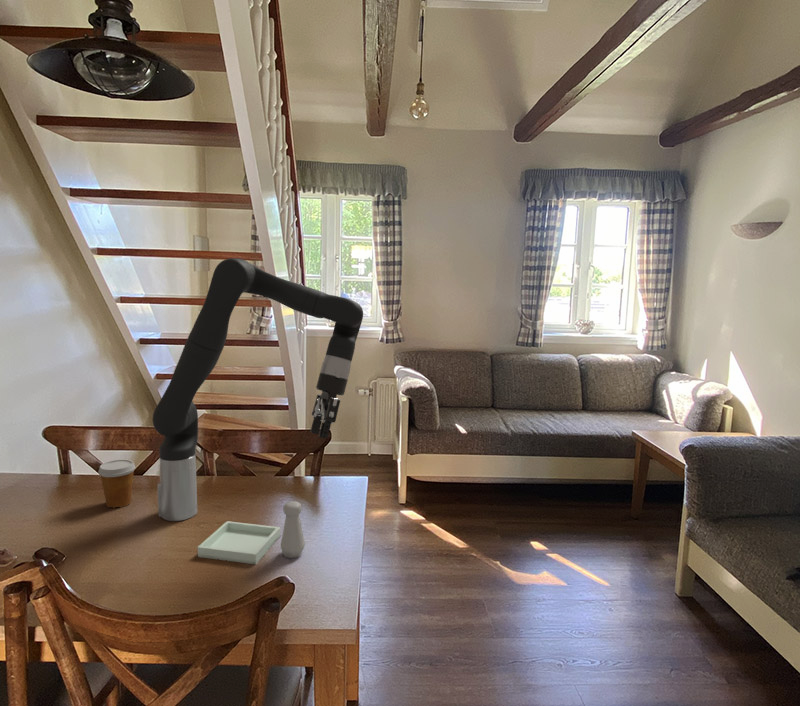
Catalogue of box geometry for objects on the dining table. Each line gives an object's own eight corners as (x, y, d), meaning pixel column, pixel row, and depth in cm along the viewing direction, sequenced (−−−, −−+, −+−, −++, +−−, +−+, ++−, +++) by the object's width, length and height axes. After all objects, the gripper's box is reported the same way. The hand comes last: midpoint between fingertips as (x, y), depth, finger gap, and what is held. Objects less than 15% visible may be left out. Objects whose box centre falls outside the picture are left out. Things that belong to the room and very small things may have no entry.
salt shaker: (309, 550, 132) (309, 500, 130) (297, 561, 126) (297, 510, 124) (288, 546, 133) (288, 497, 132) (276, 557, 128) (275, 506, 126)
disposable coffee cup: (112, 513, 149) (109, 472, 147) (93, 505, 154) (91, 465, 152) (143, 502, 157) (142, 463, 155) (125, 494, 162) (123, 456, 160)
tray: (197, 556, 127) (197, 547, 127) (227, 529, 141) (227, 521, 141) (256, 564, 125) (255, 554, 124) (280, 536, 138) (280, 527, 138)
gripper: (313, 371, 144) (298, 429, 142) (328, 372, 131) (311, 436, 129) (339, 377, 147) (324, 435, 145) (356, 379, 134) (339, 442, 132)
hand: (318, 435), depth 137 cm, fingers open, 8 cm apart
